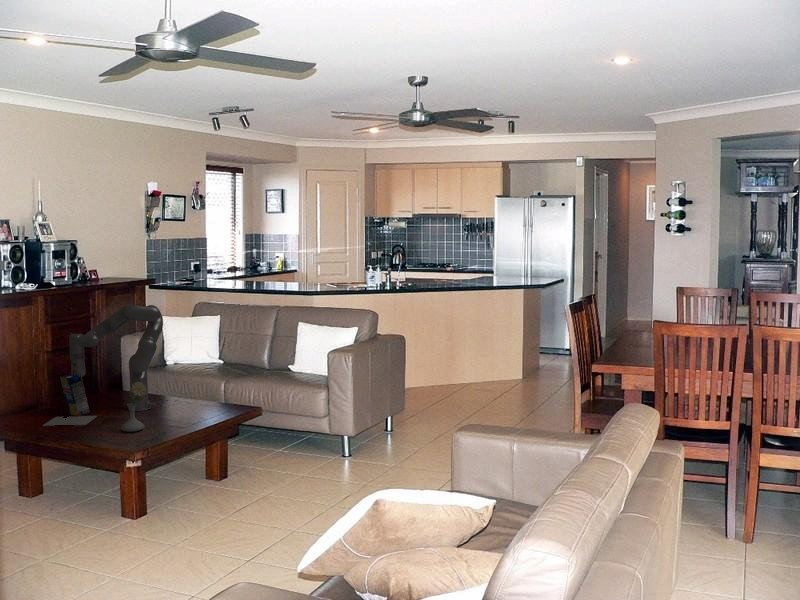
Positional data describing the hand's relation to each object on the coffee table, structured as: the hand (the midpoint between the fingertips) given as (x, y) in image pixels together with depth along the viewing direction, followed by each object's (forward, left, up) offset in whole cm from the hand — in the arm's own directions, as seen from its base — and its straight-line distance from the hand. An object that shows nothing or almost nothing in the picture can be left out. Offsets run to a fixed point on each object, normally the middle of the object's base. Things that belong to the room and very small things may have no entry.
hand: (78, 389), depth 463 cm
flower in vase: (-40, +40, -14) cm, 58 cm away
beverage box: (0, +1, -14) cm, 14 cm away
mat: (0, +16, -14) cm, 21 cm away
